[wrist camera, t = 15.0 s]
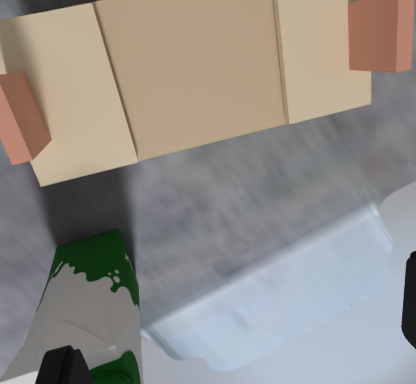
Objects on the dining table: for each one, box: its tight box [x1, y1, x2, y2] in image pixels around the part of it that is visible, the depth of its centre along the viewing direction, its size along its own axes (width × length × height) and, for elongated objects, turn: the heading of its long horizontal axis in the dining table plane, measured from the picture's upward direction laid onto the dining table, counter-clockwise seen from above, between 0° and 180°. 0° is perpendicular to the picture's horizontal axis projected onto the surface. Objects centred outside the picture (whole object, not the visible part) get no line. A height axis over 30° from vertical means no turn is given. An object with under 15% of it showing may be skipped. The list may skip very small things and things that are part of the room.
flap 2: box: [273, 0, 415, 124], centre depth 25 cm, size 8×12×6 cm
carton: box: [74, 0, 288, 161], centre depth 31 cm, size 16×12×8 cm
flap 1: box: [0, 3, 138, 187], centre depth 23 cm, size 8×12×6 cm
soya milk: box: [0, 229, 143, 384], centre depth 31 cm, size 9×9×20 cm
